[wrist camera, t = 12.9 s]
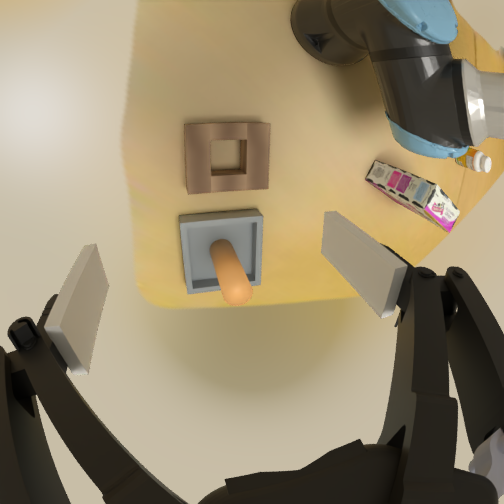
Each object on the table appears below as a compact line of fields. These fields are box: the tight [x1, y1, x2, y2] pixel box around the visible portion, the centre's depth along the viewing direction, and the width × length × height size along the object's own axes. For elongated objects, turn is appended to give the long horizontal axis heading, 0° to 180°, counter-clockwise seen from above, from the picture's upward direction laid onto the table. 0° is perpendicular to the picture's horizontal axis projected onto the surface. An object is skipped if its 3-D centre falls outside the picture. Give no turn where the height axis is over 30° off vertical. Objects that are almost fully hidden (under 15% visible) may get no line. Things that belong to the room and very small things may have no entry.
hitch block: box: [184, 122, 270, 194], centre depth 40 cm, size 12×10×4 cm
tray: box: [179, 209, 263, 294], centre depth 47 cm, size 13×13×4 cm
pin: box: [210, 239, 253, 306], centre depth 43 cm, size 4×4×13 cm
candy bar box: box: [365, 160, 460, 233], centre depth 45 cm, size 11×5×16 cm, turn 63°
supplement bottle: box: [455, 148, 491, 173], centre depth 50 cm, size 5×5×10 cm
